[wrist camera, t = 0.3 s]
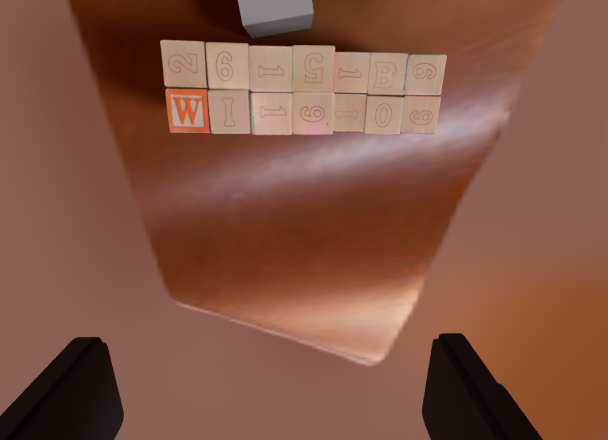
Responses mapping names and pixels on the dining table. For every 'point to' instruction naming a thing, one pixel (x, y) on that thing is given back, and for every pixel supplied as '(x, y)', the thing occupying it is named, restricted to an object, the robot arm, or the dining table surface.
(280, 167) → the dining table surface
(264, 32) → the bluegrey block
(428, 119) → the stack of blocks
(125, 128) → the dining table surface
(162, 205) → the dining table surface
